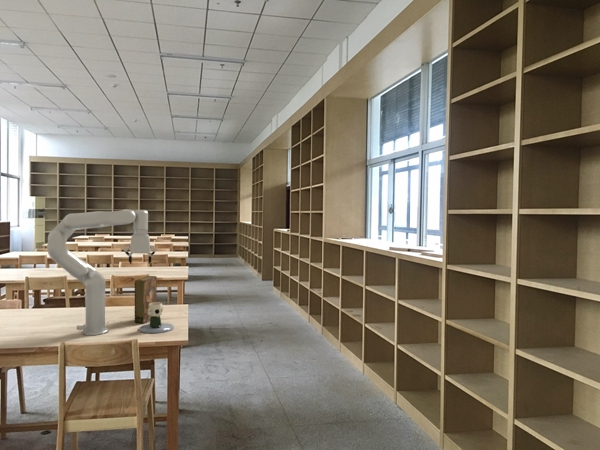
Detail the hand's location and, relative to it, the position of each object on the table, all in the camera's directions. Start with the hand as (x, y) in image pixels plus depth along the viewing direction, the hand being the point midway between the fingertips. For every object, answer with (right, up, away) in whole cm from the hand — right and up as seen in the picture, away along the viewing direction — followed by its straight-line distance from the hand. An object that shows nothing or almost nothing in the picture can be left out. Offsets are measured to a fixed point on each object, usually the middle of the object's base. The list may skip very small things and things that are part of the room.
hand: (140, 263), depth 261 cm
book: (-2, -35, +17) cm, 39 cm away
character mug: (+9, -35, -1) cm, 36 cm away
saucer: (+9, -36, -1) cm, 37 cm away
